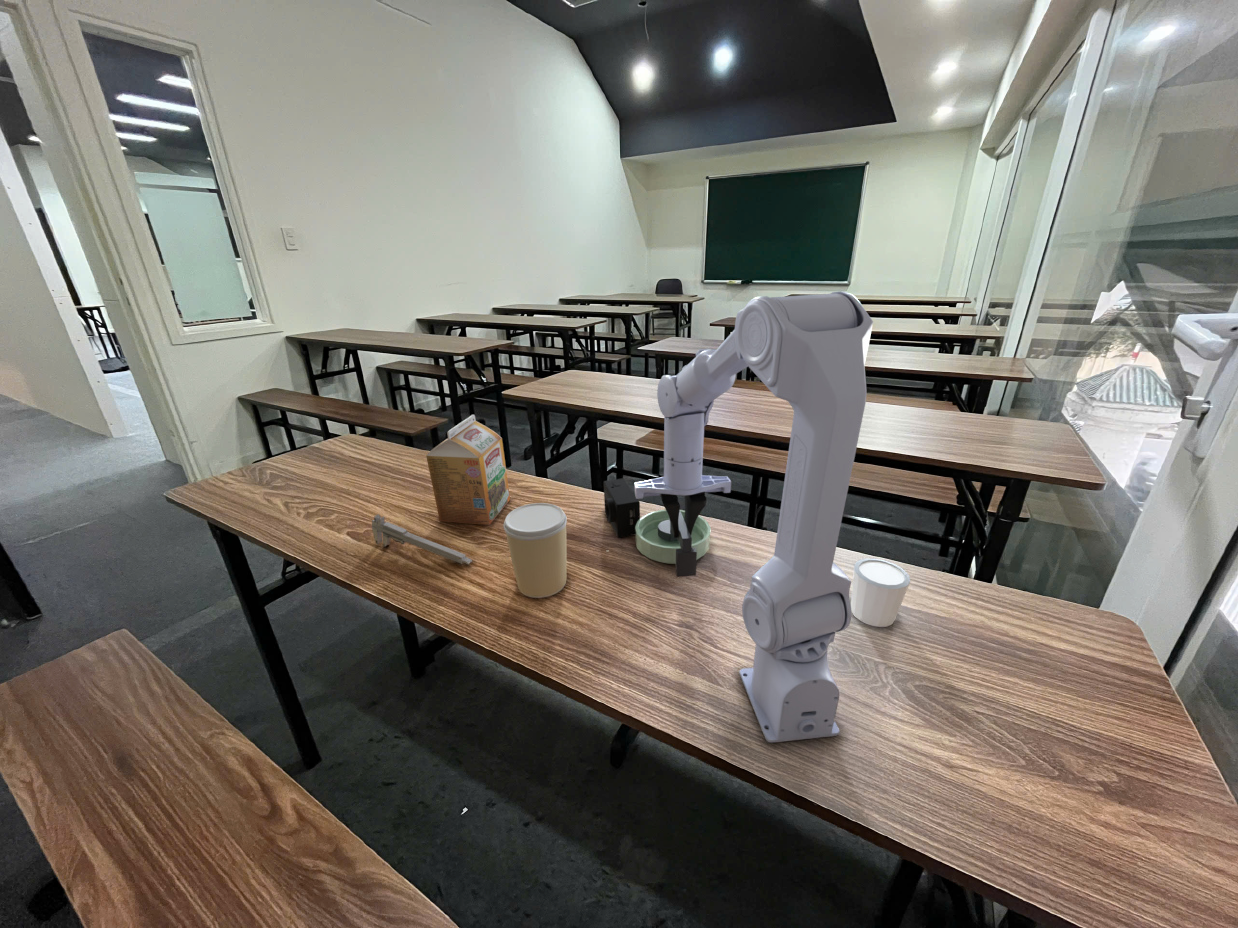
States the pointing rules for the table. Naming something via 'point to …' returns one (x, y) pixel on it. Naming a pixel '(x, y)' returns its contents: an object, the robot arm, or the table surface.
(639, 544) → the bowl
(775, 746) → the table surface
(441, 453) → the milk carton
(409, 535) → the caliper
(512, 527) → the cream lidded canister
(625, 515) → the digital camera
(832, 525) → the robot arm
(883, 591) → the white round tub
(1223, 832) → the table surface
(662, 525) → the grey lever handle
